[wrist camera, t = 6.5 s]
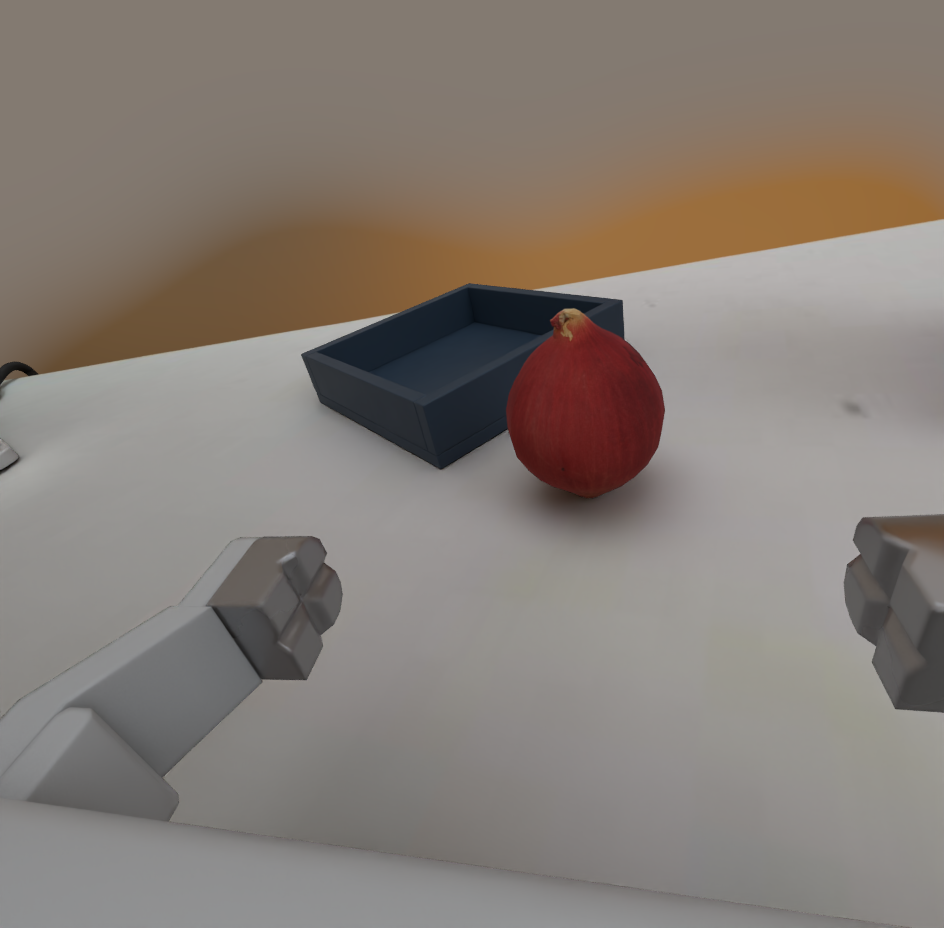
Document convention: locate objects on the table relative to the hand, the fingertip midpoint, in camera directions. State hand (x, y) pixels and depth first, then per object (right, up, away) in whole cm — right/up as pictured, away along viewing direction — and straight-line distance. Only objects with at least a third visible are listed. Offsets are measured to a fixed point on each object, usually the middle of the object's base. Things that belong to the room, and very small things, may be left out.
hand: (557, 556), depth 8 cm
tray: (-2, +7, +26) cm, 27 cm away
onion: (+4, 0, +14) cm, 14 cm away
